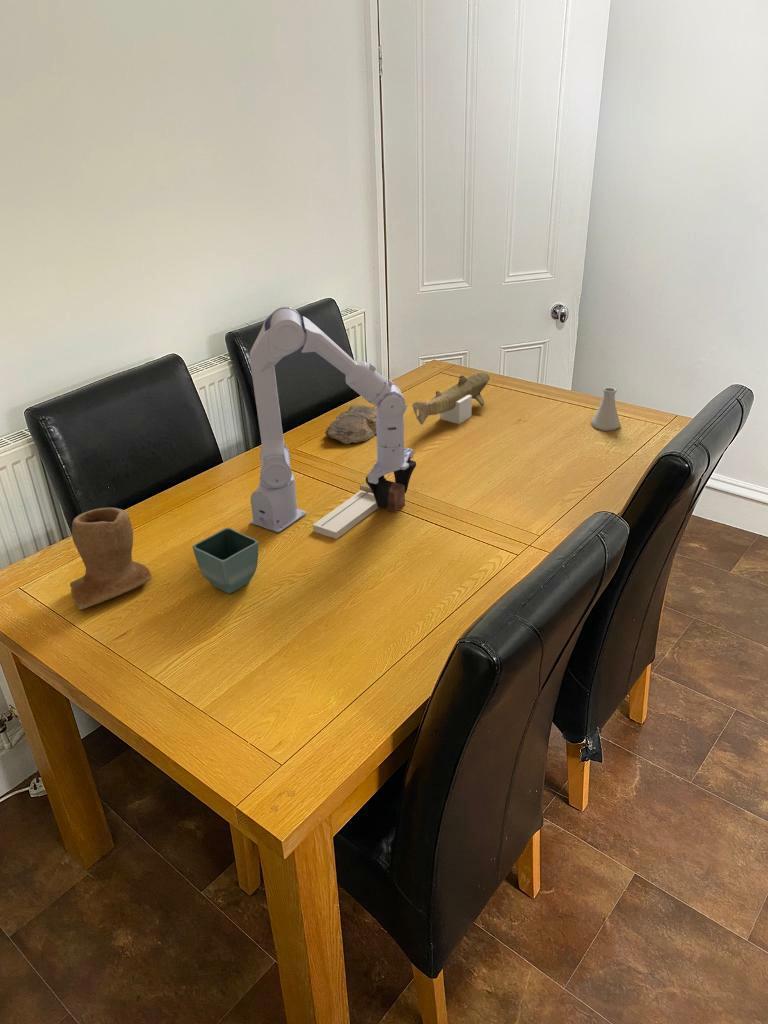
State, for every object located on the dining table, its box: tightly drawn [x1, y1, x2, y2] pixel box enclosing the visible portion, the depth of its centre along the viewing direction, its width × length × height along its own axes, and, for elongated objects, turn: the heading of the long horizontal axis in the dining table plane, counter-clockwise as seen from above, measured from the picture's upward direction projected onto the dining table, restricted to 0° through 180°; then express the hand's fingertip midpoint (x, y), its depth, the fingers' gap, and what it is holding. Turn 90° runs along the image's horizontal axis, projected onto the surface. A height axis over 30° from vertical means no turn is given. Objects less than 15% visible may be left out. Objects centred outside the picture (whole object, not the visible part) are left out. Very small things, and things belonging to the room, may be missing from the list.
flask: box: [590, 386, 621, 432], centre depth 207 cm, size 7×7×10 cm
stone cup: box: [69, 507, 152, 611], centre depth 148 cm, size 15×12×15 cm
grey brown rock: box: [324, 404, 377, 445], centre depth 209 cm, size 14×5×20 cm
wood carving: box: [412, 372, 491, 426], centre depth 212 cm, size 9×35×11 cm, turn 143°
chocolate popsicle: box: [359, 481, 406, 514], centre depth 175 cm, size 4×10×5 cm, turn 56°
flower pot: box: [191, 527, 259, 594], centre depth 149 cm, size 9×9×9 cm
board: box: [312, 490, 379, 540], centre depth 173 cm, size 22×6×2 cm, turn 146°
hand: (392, 499), depth 174 cm, fingers open, 7 cm apart
